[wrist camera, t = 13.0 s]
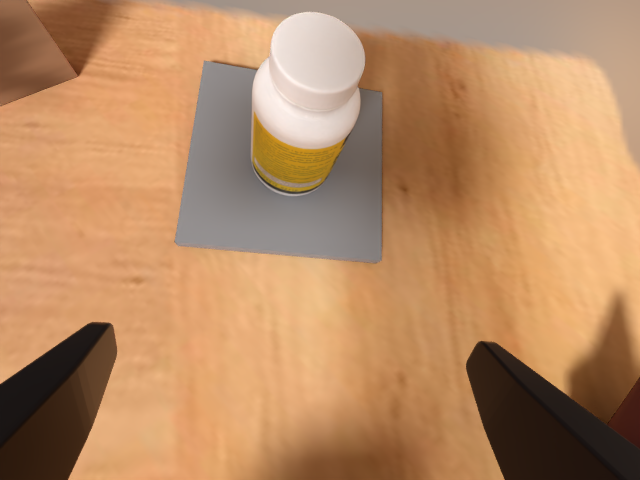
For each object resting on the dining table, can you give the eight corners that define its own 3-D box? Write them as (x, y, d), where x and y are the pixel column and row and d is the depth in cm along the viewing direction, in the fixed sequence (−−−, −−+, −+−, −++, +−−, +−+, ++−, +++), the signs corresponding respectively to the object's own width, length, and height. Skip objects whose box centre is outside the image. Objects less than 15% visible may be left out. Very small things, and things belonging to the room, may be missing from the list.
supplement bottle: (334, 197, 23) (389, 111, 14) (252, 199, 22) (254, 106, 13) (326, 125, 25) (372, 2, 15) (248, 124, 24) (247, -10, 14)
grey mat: (376, 263, 24) (381, 260, 23) (178, 245, 22) (174, 242, 21) (377, 100, 27) (382, 92, 26) (205, 70, 25) (204, 60, 24)
